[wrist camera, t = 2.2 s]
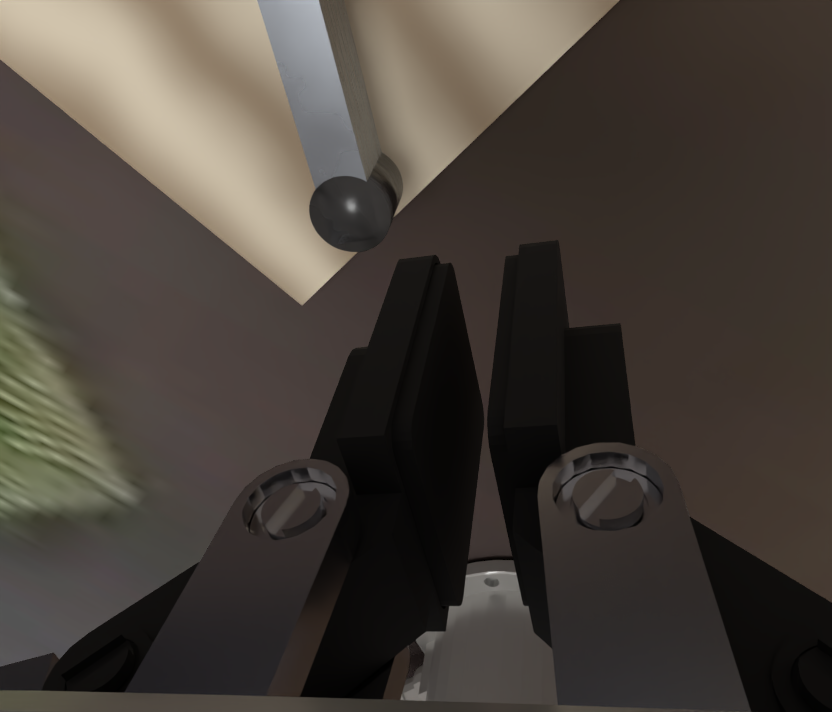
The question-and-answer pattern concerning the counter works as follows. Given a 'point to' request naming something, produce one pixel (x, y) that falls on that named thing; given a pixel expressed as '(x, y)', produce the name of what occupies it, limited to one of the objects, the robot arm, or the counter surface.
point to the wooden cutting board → (279, 99)
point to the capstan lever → (333, 122)
